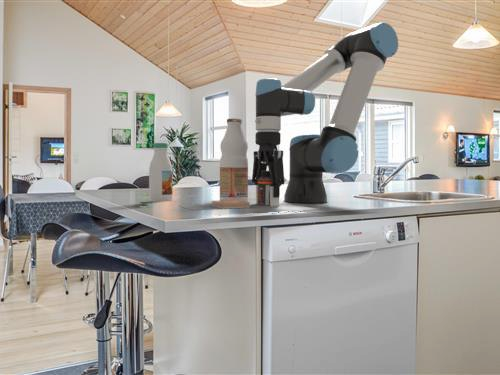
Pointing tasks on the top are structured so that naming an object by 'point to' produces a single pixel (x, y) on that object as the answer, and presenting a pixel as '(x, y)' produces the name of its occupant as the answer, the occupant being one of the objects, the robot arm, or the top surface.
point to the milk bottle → (160, 175)
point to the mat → (203, 207)
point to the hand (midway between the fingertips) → (267, 207)
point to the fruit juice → (234, 163)
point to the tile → (230, 204)
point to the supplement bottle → (264, 189)
